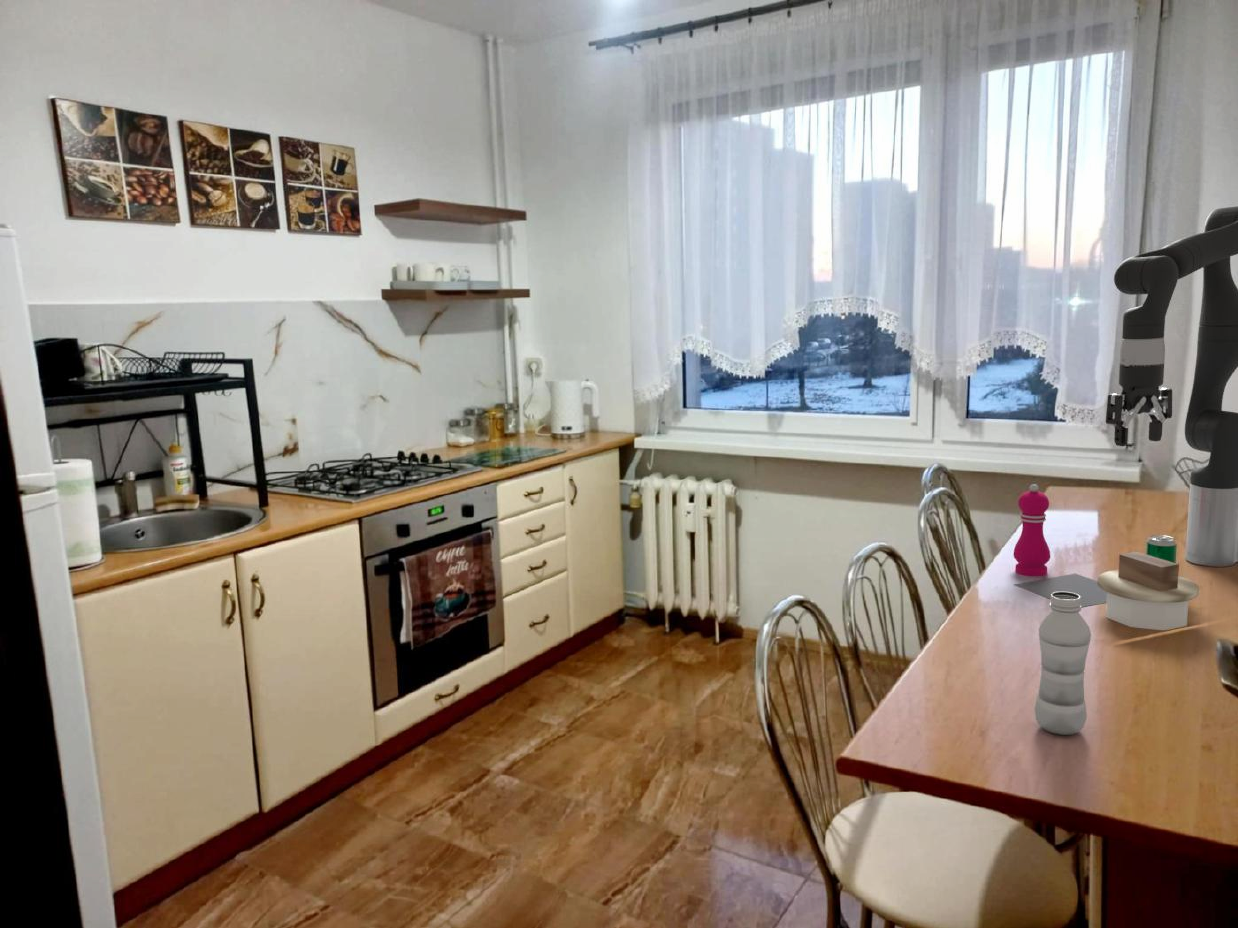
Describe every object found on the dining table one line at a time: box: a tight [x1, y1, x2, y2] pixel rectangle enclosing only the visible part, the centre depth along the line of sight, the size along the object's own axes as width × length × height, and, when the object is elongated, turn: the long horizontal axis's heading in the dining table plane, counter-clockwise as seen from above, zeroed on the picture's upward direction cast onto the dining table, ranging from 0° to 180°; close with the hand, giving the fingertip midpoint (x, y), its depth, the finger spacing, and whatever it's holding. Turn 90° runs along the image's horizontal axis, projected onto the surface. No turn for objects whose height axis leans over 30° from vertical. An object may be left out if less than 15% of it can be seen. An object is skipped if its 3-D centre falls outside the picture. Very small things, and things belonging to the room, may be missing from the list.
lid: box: [1097, 551, 1200, 603], centre depth 161 cm, size 16×16×6 cm
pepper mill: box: [1013, 483, 1051, 578], centre depth 189 cm, size 7×7×20 cm
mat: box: [1013, 573, 1107, 609], centre depth 178 cm, size 16×16×1 cm
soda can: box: [1145, 534, 1178, 564], centre depth 172 cm, size 5×5×12 cm
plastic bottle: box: [1034, 592, 1092, 736], centre depth 123 cm, size 6×7×20 cm
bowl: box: [1105, 592, 1189, 631], centre depth 162 cm, size 13×13×6 cm
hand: (1137, 443), depth 174 cm, fingers open, 8 cm apart
